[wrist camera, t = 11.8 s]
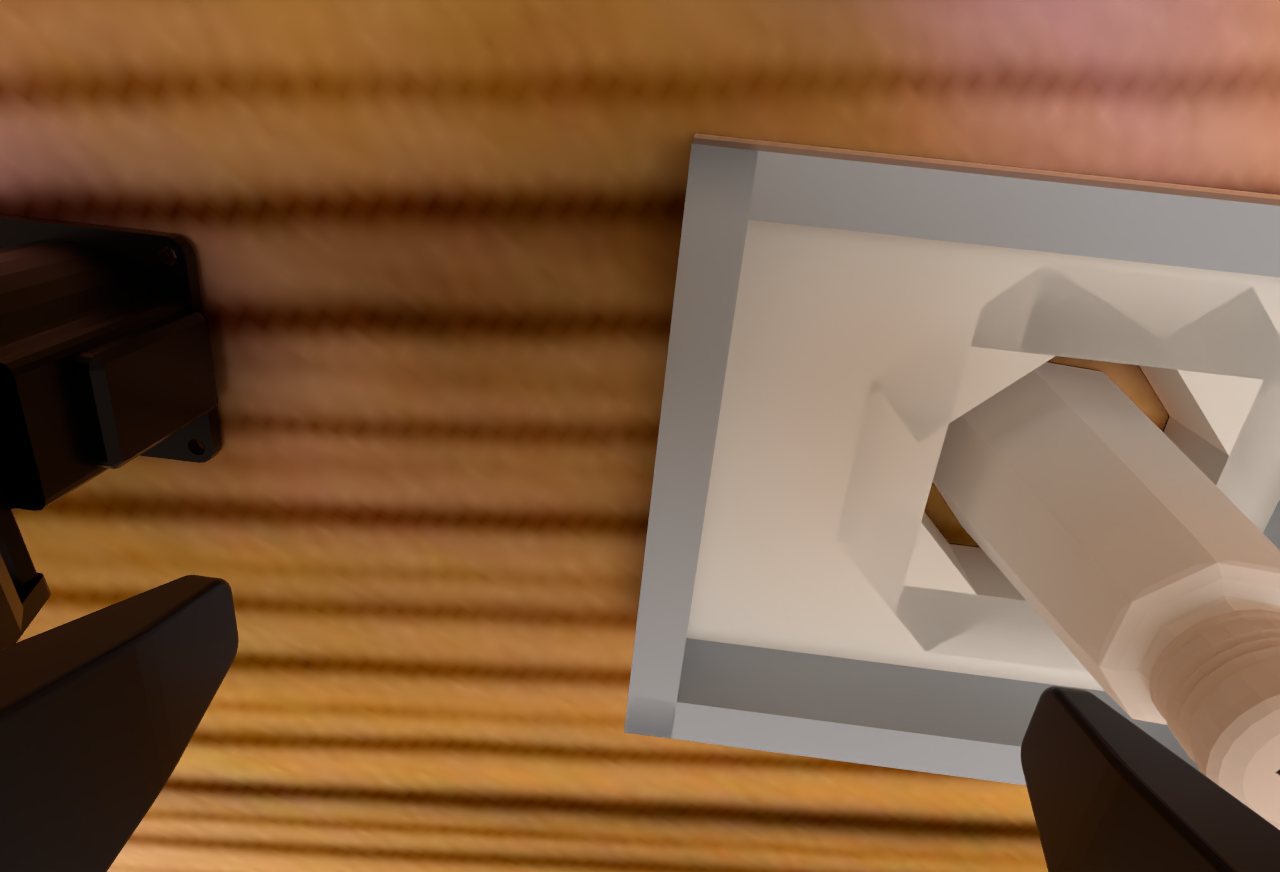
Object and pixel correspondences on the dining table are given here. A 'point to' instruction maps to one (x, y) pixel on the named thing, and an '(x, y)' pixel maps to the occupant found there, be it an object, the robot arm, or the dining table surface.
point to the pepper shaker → (1130, 564)
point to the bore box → (911, 433)
